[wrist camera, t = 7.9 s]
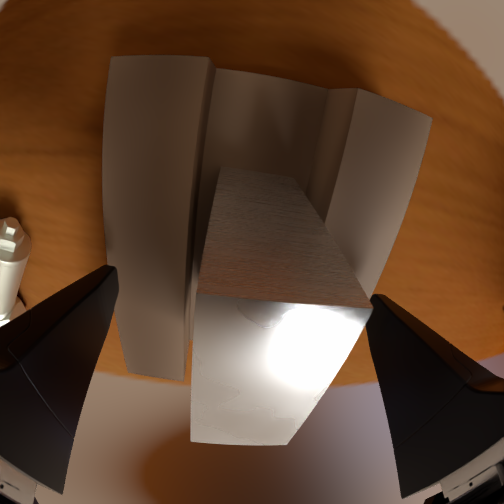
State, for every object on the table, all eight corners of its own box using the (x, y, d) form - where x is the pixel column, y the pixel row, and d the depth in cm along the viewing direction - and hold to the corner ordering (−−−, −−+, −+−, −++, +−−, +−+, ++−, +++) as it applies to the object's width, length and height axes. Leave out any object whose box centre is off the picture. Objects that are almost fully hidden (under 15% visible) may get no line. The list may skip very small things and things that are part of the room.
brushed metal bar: (293, 177, 12) (374, 308, 5) (265, 293, 14) (286, 444, 8) (220, 166, 11) (195, 293, 4) (206, 286, 14) (190, 441, 7)
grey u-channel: (386, 109, 10) (432, 118, 7) (309, 342, 17) (321, 387, 14) (145, 66, 9) (111, 56, 6) (141, 326, 16) (128, 372, 13)
